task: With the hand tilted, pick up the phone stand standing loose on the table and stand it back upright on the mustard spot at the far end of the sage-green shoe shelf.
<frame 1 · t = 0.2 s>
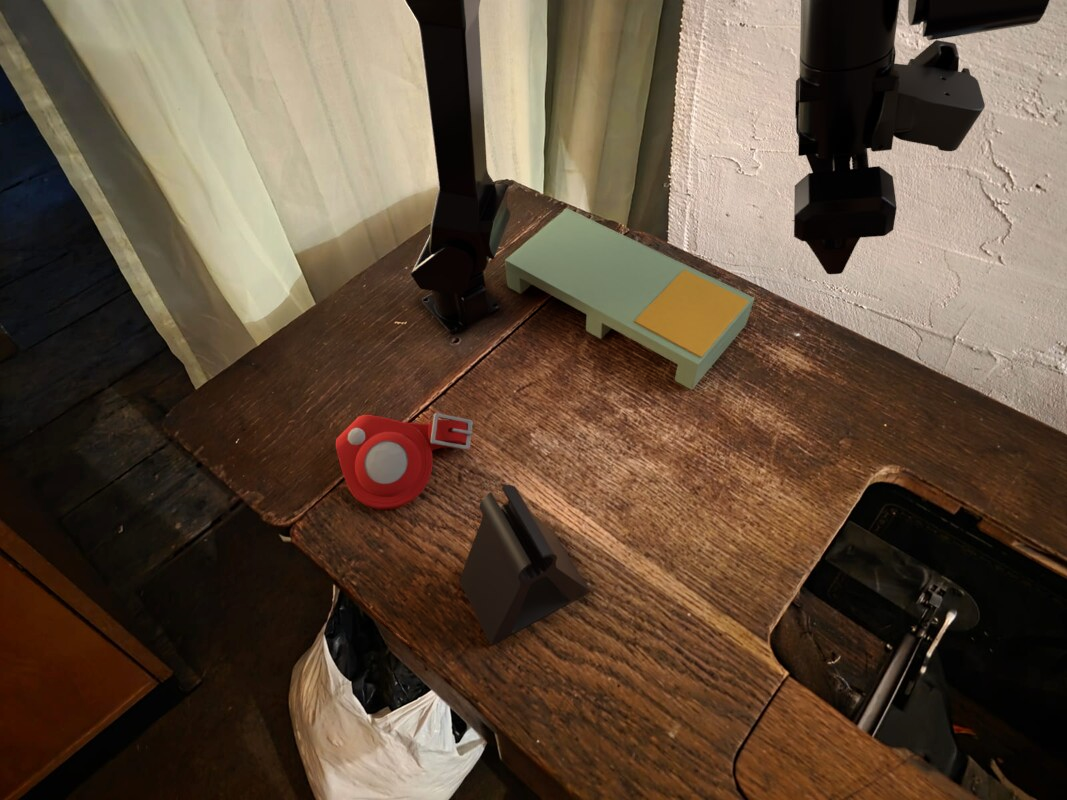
hand: (833, 235, 56), 15 cm above the table, tool pointing down, fingers open, 9 cm apart
phone stand: (524, 588, 55), on the table
red tape measure: (409, 465, 63), on the table
shoe shelf: (622, 305, 74), on the table
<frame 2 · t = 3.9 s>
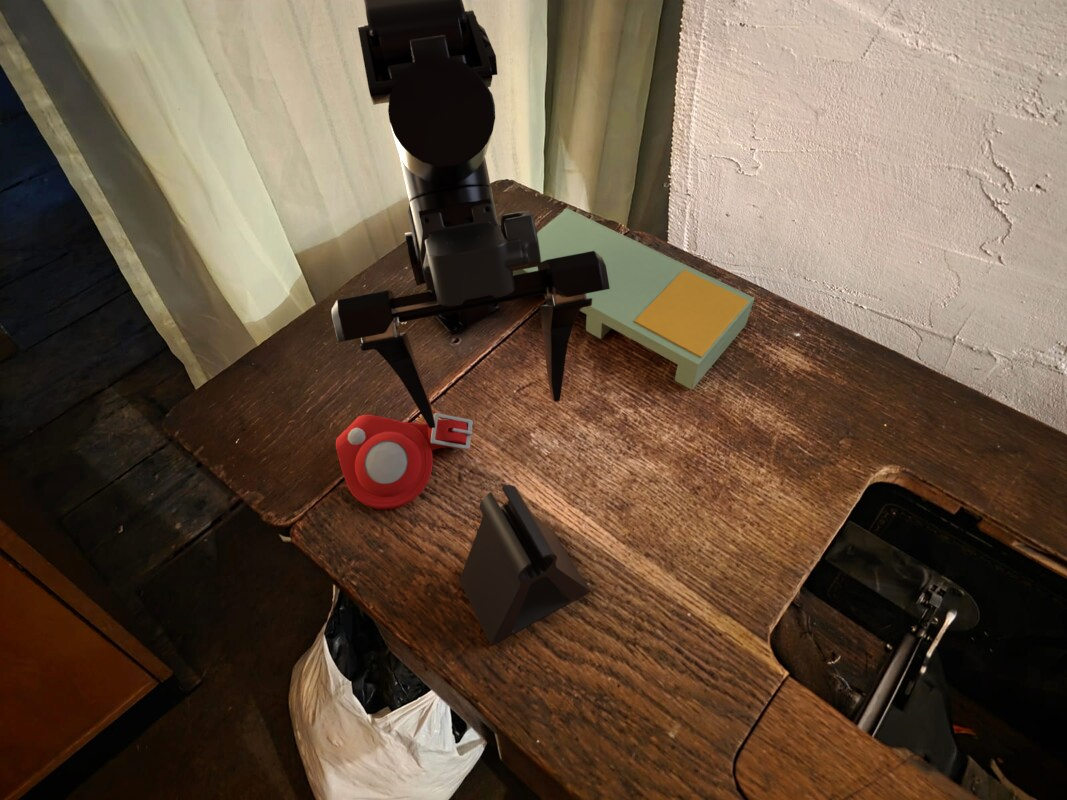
hand: (495, 413, 49), 14 cm above the table, tool tilted 45°, fingers open, 9 cm apart
nothing on the table moved.
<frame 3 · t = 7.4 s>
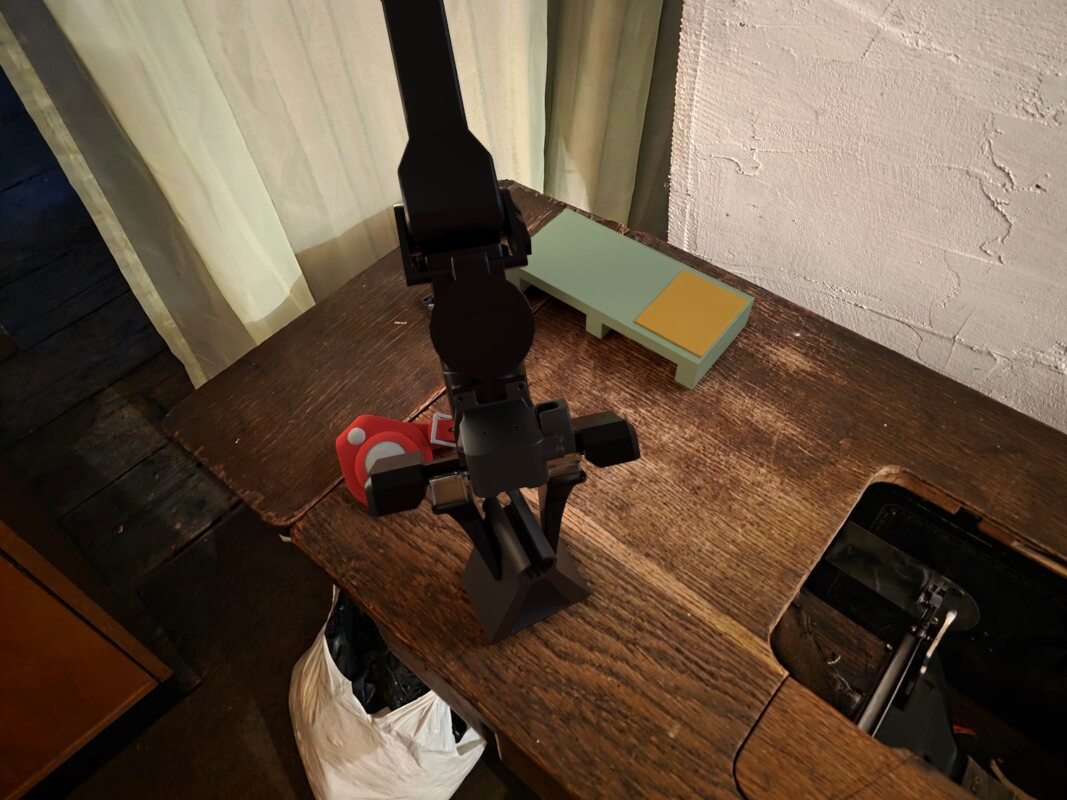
hand: (524, 572, 49), 7 cm above the table, tool tilted 45°, fingers closed on phone stand, 4 cm apart
phone stand: (525, 589, 55), on the table, touching gripper
everything else where it was.
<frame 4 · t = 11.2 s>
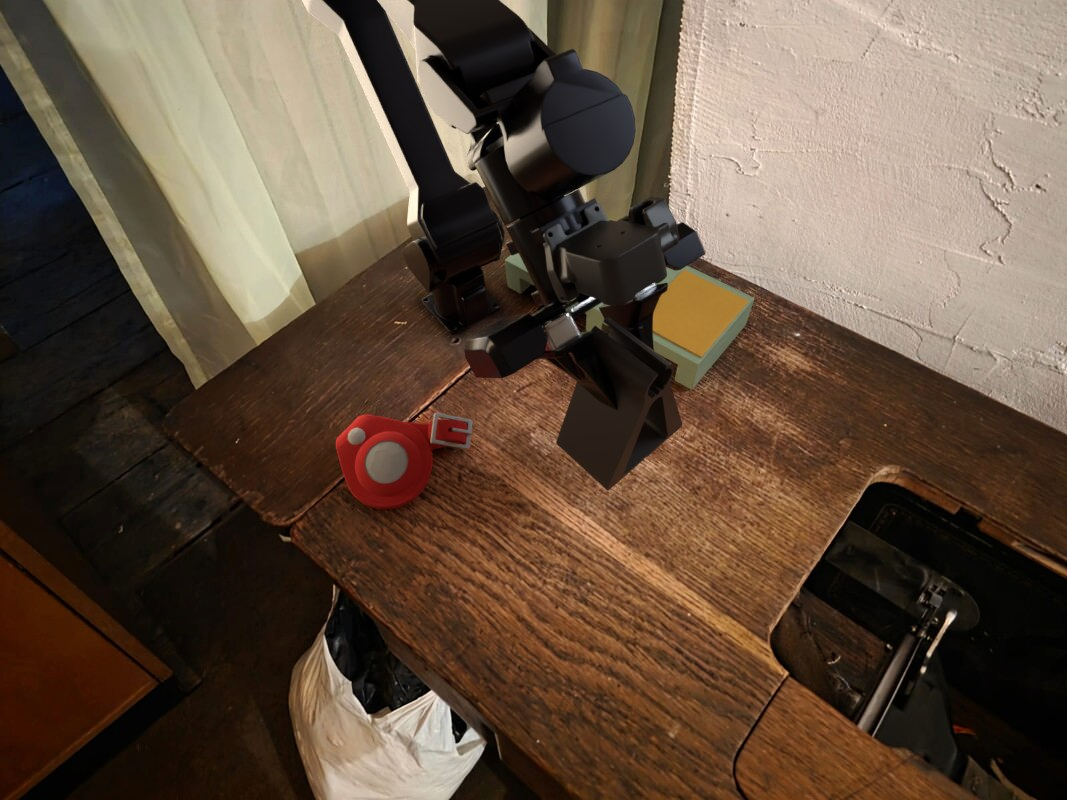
hand: (634, 400, 51), 12 cm above the table, tool tilted 45°, fingers closed on phone stand, 3 cm apart
phone stand: (618, 437, 57), point 6 cm above the table, touching gripper
everything else where it was.
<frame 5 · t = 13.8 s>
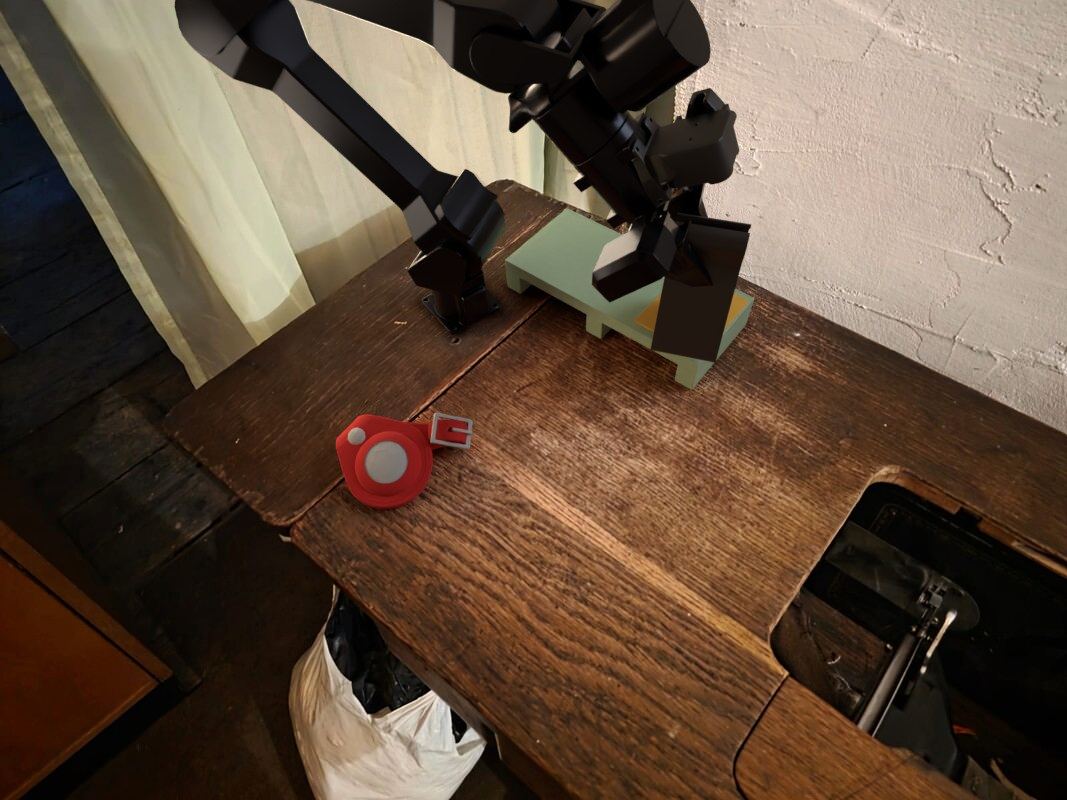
hand: (714, 275, 58), 12 cm above the table, tool tilted 45°, fingers closed on phone stand, 3 cm apart
phone stand: (688, 323, 64), point 6 cm above the table, touching gripper
everything else where it was.
when the fingers open (11 cm above the table, at t = 15.4 s): phone stand stays where it is, resting on shoe shelf.
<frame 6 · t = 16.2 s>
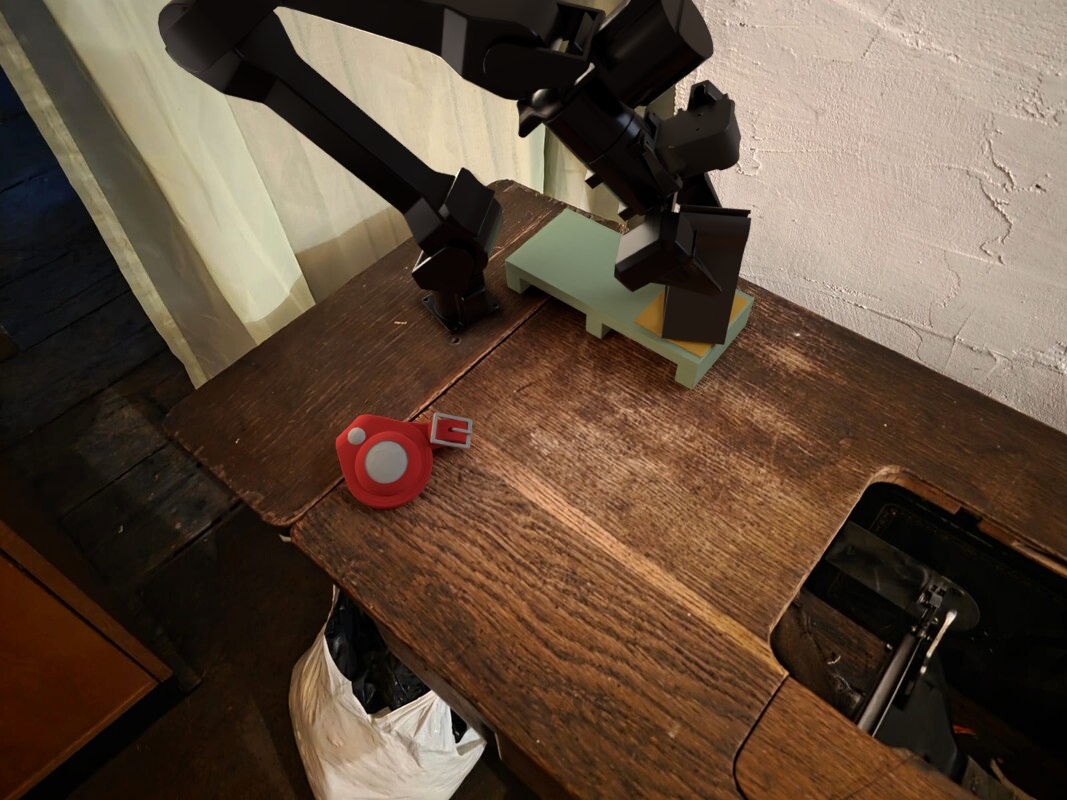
hand: (720, 258, 61), 11 cm above the table, tool tilted 45°, fingers open, 9 cm apart
phone stand: (693, 311, 67), point 4 cm above the table, touching shoe shelf
everything else where it was.
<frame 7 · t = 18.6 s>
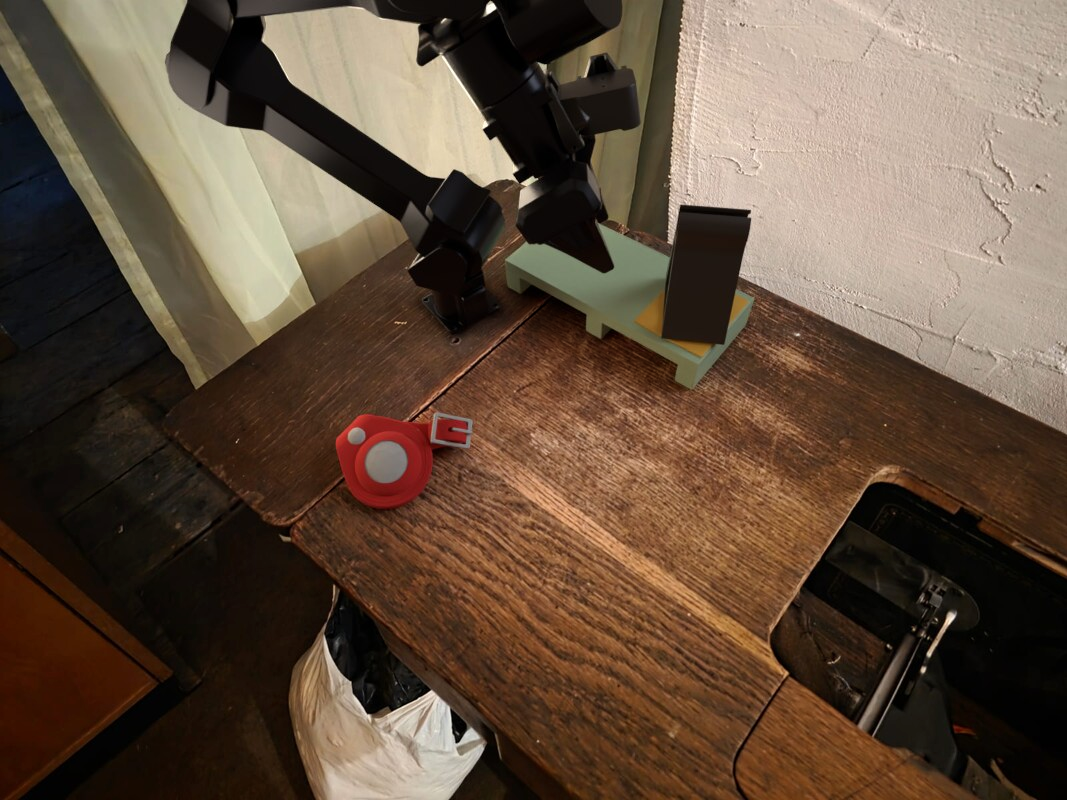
hand: (606, 244, 60), 13 cm above the table, tool tilted 35°, fingers open, 9 cm apart
nothing on the table moved.
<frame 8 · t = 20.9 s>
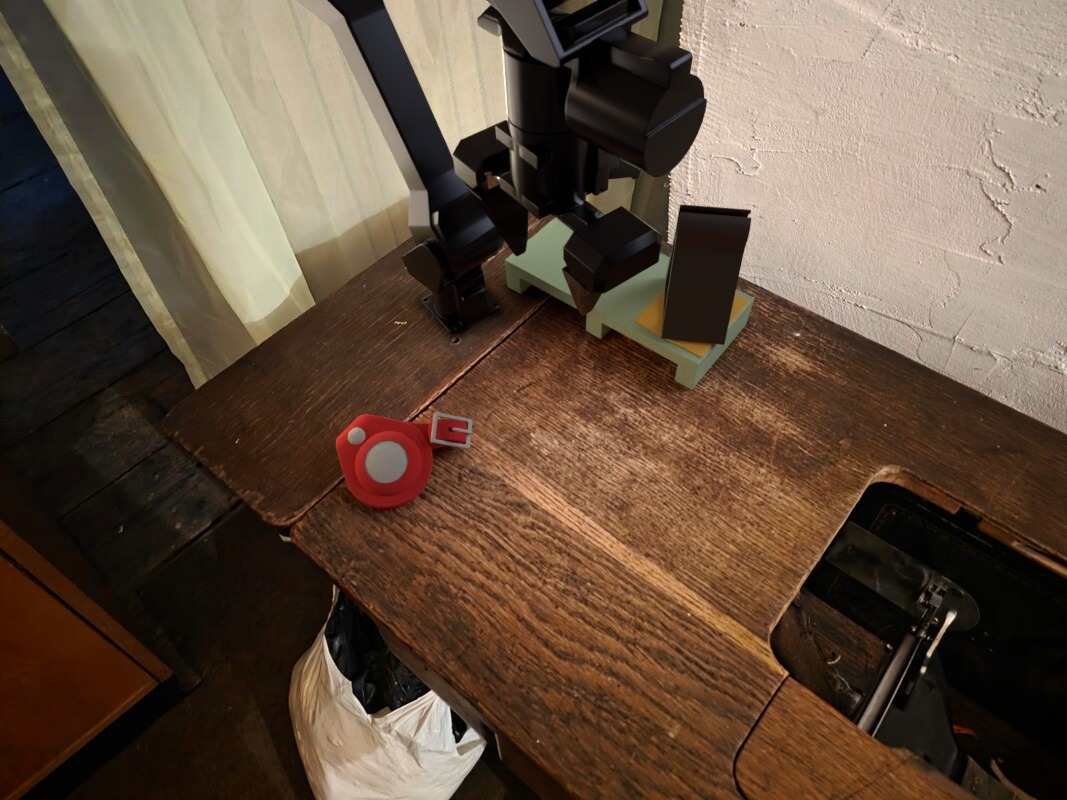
hand: (551, 281, 58), 13 cm above the table, tool pointing down, fingers open, 9 cm apart
nothing on the table moved.
at the end: phone stand inside the target area on the shoe shelf (0.4 cm from its centre), point 4.0 cm above the shoe shelf's base; phone stand tilted 0°; the gripper is holding nothing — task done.
